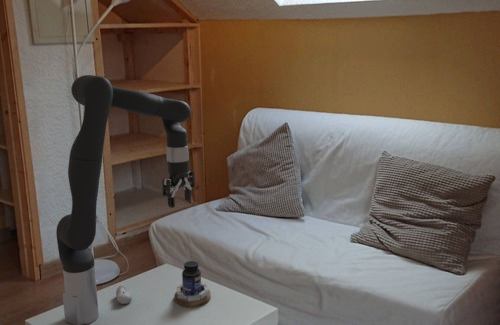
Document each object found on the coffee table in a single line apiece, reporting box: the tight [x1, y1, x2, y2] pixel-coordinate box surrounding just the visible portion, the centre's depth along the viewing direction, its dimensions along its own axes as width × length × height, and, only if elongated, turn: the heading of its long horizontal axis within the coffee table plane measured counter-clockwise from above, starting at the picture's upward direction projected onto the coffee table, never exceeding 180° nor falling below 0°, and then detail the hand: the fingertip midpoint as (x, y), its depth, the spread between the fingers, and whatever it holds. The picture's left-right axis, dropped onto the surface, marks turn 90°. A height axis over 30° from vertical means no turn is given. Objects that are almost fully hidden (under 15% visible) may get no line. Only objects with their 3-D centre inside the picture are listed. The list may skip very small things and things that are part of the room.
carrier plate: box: [174, 282, 212, 308], centre depth 176 cm, size 12×12×4 cm
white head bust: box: [115, 285, 133, 305], centre depth 175 cm, size 4×8×5 cm
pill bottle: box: [181, 260, 202, 295], centre depth 175 cm, size 6×6×11 cm
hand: (179, 203), depth 184 cm, fingers open, 8 cm apart
